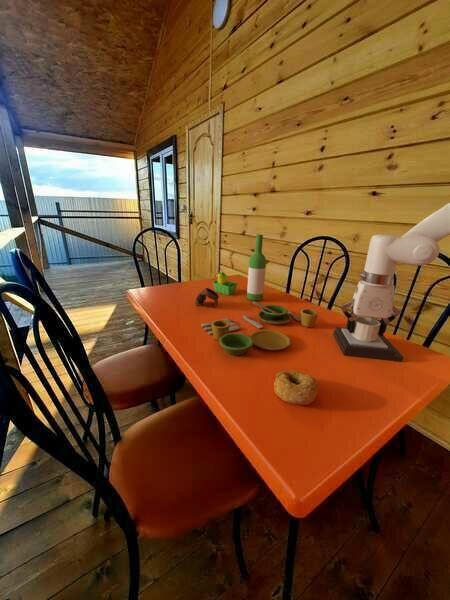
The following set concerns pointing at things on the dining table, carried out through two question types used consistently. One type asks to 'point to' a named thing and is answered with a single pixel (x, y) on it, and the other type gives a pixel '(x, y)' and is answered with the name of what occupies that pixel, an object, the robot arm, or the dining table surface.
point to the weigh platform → (354, 341)
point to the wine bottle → (256, 272)
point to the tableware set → (262, 338)
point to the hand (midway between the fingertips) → (364, 332)
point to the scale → (367, 348)
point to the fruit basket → (224, 284)
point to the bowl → (366, 329)
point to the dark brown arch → (209, 294)
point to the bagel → (296, 387)
